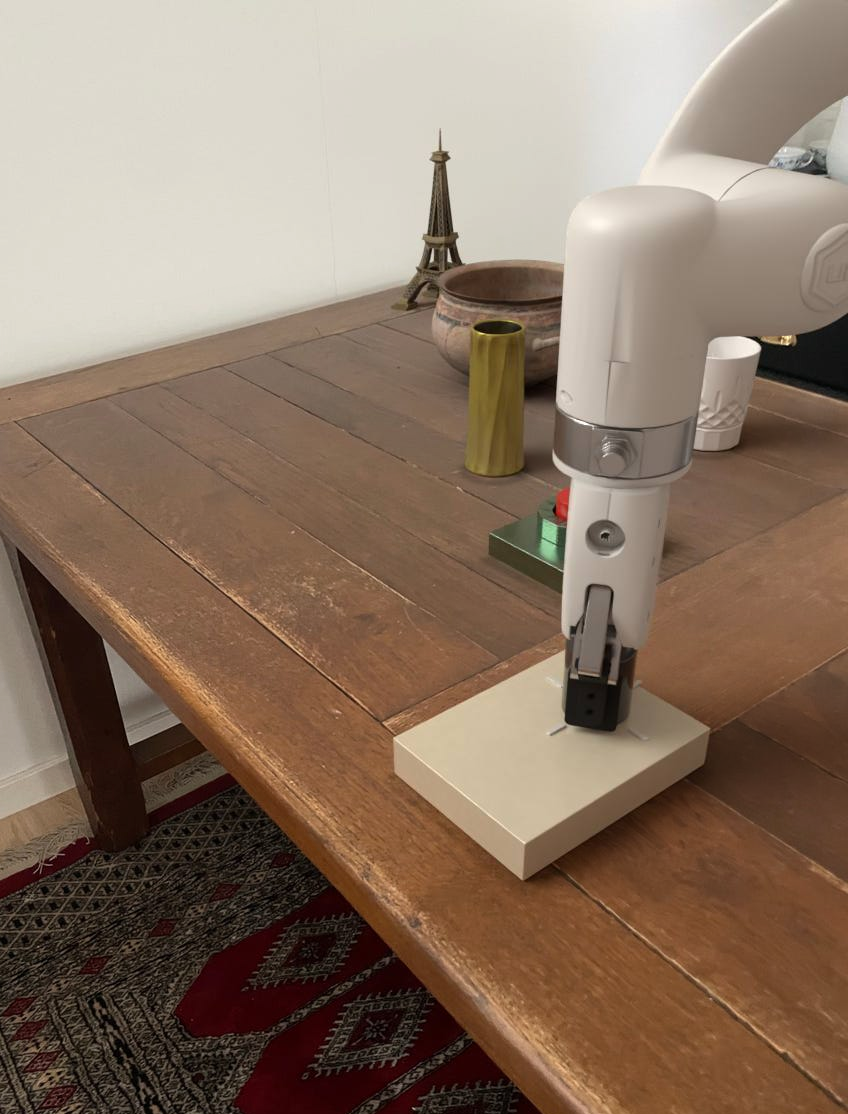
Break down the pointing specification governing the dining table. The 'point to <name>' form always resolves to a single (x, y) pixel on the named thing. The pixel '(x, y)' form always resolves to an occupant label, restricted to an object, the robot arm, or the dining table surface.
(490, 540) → the green button box
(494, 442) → the vase
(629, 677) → the stove knob
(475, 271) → the cooking pot
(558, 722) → the beige knob base
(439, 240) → the eiffel tower
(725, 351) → the white cup
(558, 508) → the ignition button
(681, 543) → the dining table surface
